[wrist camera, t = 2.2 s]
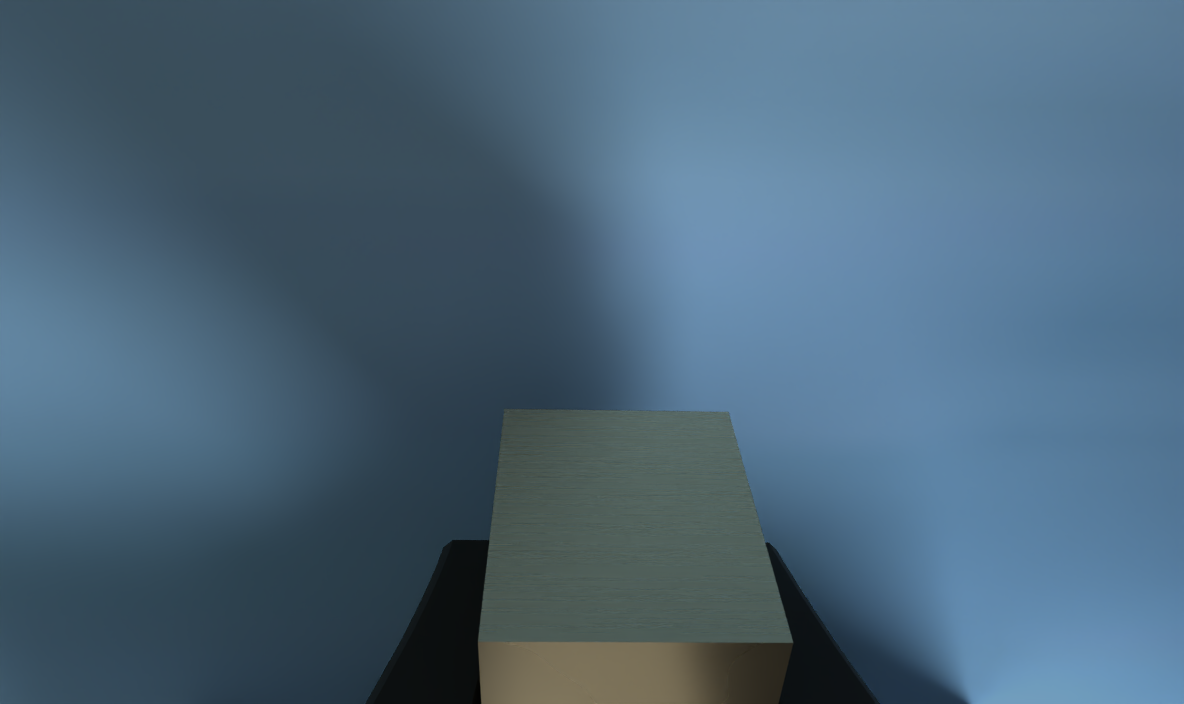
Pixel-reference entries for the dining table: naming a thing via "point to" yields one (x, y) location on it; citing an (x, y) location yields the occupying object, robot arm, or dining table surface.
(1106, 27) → the dining table surface
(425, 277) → the dining table surface
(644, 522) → the gold trophy
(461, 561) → the robot arm
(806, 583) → the dining table surface
